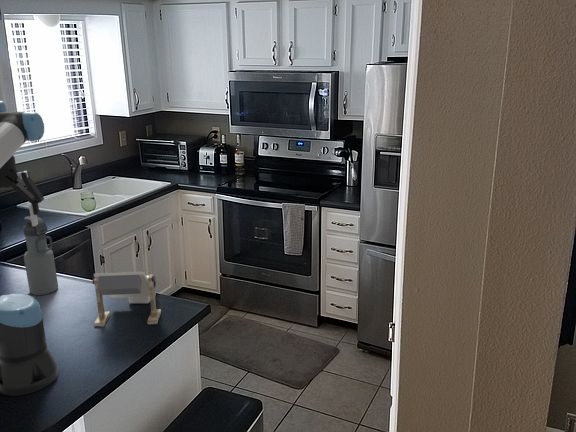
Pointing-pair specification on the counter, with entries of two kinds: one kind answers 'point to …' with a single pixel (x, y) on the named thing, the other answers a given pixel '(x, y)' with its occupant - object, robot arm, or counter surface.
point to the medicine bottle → (140, 297)
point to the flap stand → (104, 316)
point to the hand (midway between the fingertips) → (11, 225)
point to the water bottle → (39, 259)
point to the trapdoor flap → (123, 284)
